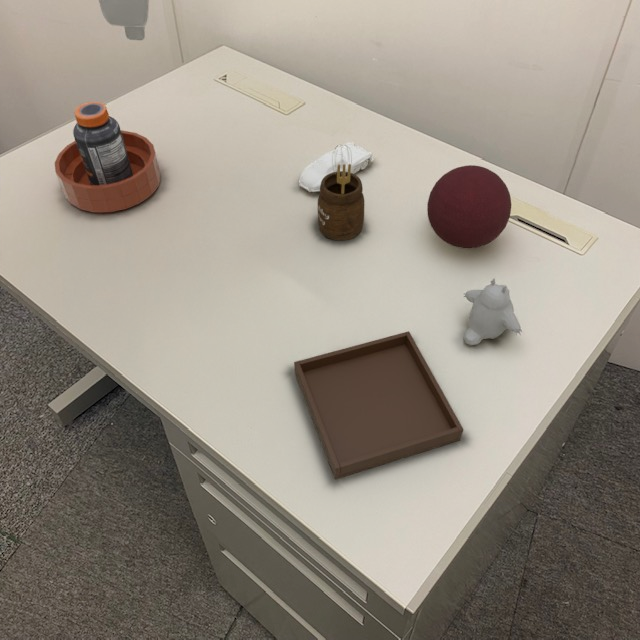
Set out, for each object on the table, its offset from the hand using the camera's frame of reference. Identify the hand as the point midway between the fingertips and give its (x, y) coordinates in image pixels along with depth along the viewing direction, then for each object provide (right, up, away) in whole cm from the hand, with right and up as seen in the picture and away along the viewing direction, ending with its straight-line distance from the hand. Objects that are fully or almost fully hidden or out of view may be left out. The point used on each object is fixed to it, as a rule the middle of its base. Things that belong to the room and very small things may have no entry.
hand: (138, 3), depth 66 cm
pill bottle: (-10, -13, +24) cm, 29 cm away
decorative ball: (+37, -22, +16) cm, 46 cm away
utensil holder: (+21, -21, +18) cm, 35 cm away
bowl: (-10, -14, +24) cm, 29 cm away
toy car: (+21, -12, +25) cm, 35 cm away
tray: (+24, -41, -1) cm, 48 cm away
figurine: (+37, -34, +6) cm, 51 cm away
